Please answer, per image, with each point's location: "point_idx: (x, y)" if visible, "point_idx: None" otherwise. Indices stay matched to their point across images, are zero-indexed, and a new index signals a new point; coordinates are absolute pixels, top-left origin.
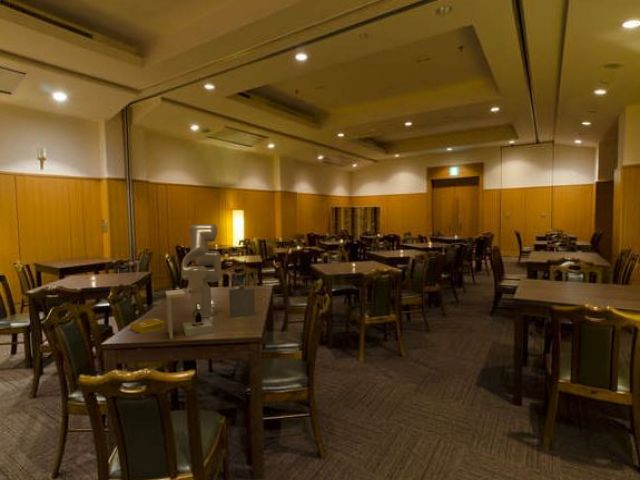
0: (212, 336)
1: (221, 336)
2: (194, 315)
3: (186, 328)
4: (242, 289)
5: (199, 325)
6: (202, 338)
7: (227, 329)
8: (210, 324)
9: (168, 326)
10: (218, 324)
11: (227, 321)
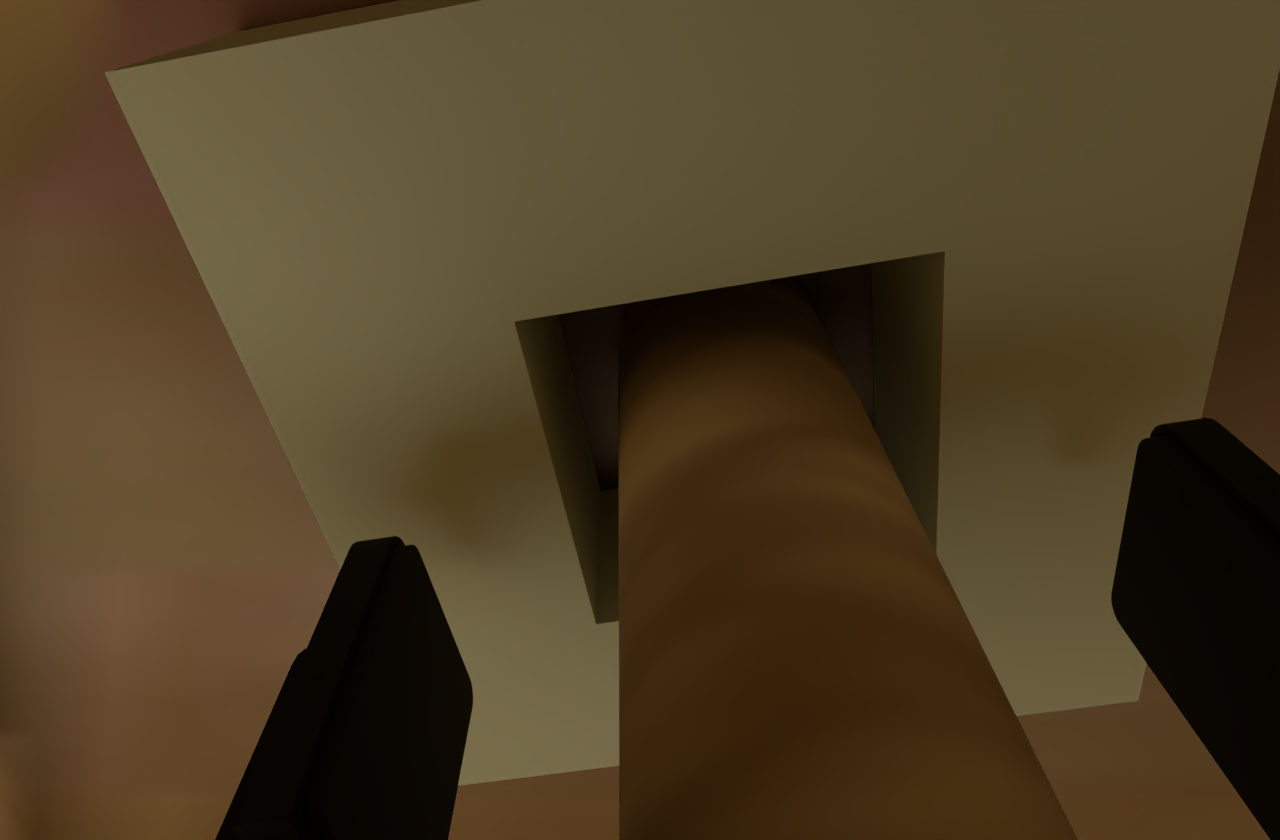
0: (176, 640)
1: (160, 762)
2: (678, 687)
3: (230, 91)
4: None
5: (559, 522)
6: (25, 471)
7: (612, 832)
8: (568, 753)
9: None
10: (1077, 721)
11: (1187, 835)
